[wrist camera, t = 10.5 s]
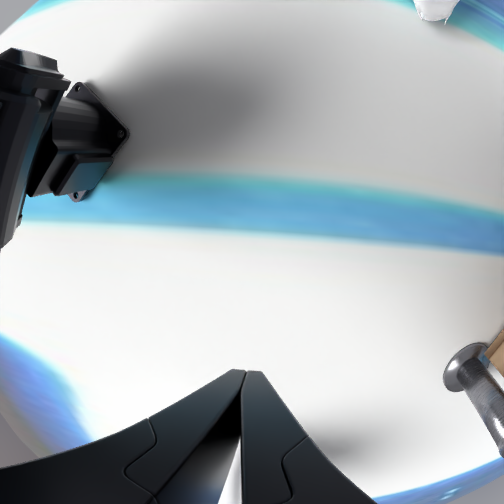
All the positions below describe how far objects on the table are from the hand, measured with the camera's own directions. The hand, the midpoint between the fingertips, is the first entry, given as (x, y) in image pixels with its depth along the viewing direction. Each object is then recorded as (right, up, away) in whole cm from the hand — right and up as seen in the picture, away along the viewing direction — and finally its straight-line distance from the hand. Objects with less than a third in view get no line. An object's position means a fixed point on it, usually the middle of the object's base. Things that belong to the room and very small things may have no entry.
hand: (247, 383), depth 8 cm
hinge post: (+19, -6, +12) cm, 23 cm away
